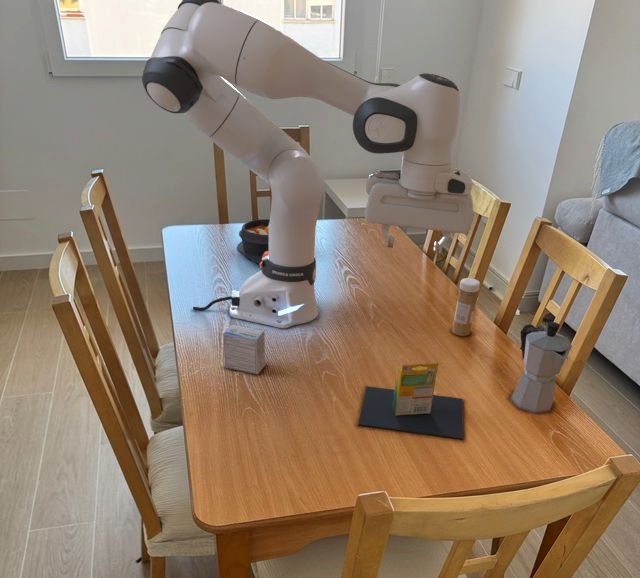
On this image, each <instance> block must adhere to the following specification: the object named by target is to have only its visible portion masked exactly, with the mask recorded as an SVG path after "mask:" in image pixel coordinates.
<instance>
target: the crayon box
mask: <svg viewBox="0 0 640 578" xmlns="http://www.w3.org/2000/svg"><path fill="white" fill-rule="evenodd" d="M438 368H439V362H434V363H432V362H431V363H416V364H415V363H413V364H402V366H397V367H396V374H395V382H394V389H393V390H394V397H393V405H392V409H393V411H394V413H395V415H396V416H399V415H411V414H425V413H427V414H429V413H430V411H431V405H432V399H433V395H434V393H435V386H436V381H437V380H436V379H437V373H438Z"/></svg>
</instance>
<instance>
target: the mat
mask: <svg viewBox="0 0 640 578" xmlns="http://www.w3.org/2000/svg"><path fill="white" fill-rule="evenodd" d="M394 390H395V389H391V388H390V389H389V388H382V387H375V386H366V388H365V392H364V396H363V401H362V405H361V410H360V415H359V420H358V425H357V426H358V427H365V428H372V429H379V430H380V429H381V430H385V431H386V430H387V431H393V432H402V433H407V434H415V435H422V436H431V437H438V438H446V439H452V440H460V441H463V438H464V436H463V435H464V434H463V433H464V432H463V431H464V430H463V398H460V397H452V396H444V395H436V394H433V399H432V405H431V411H430V413H429V414H427V413H425V414H411V415H399V416H396V415H395V413H394V411H393V409H392V405H393V397H394Z"/></svg>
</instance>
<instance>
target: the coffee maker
mask: <svg viewBox="0 0 640 578" xmlns="http://www.w3.org/2000/svg"><path fill="white" fill-rule="evenodd" d="M560 327H561V325H560V323H559V322H556V321H549V322H547V327H546V330H545V328H544V327H543V326H542V325H539V326H537V327H536V326H535V325H534V324H533V323H531V324H530V323H529V324H525V325H524V326H523V327H522V329H521V331H520V333H519V334H520V343H521V344H520V345H521V357H522V360H523V366H524V369H523V371H522V373H521V376H520V378H519V380H518V382H517V384H516V386H515V388H514V390H513V392H512V395H511V397H510V399H509V400H510V401H511V402H512V403H513V404H514V405H515V406H516V407H517V408H518V409H520V410H523V411H526V412H529V413H533V414H540V413H546V412H547V413H548V412H550V411H551V409H552V406H553V405H554V404H553V403H554V397H555V396H554V395H555V387H556V379H557V375H558V374H560V372H561V370H562V368H563V367H564V364H565V362H566V360H568V359H569V358H568V356H569V354H570V352H571V350H572V348H573V345H572V342H571V341H570V339H569V338H568V337H567V336H565V335H562V334H560V333H558V331H559V329H560Z"/></svg>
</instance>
